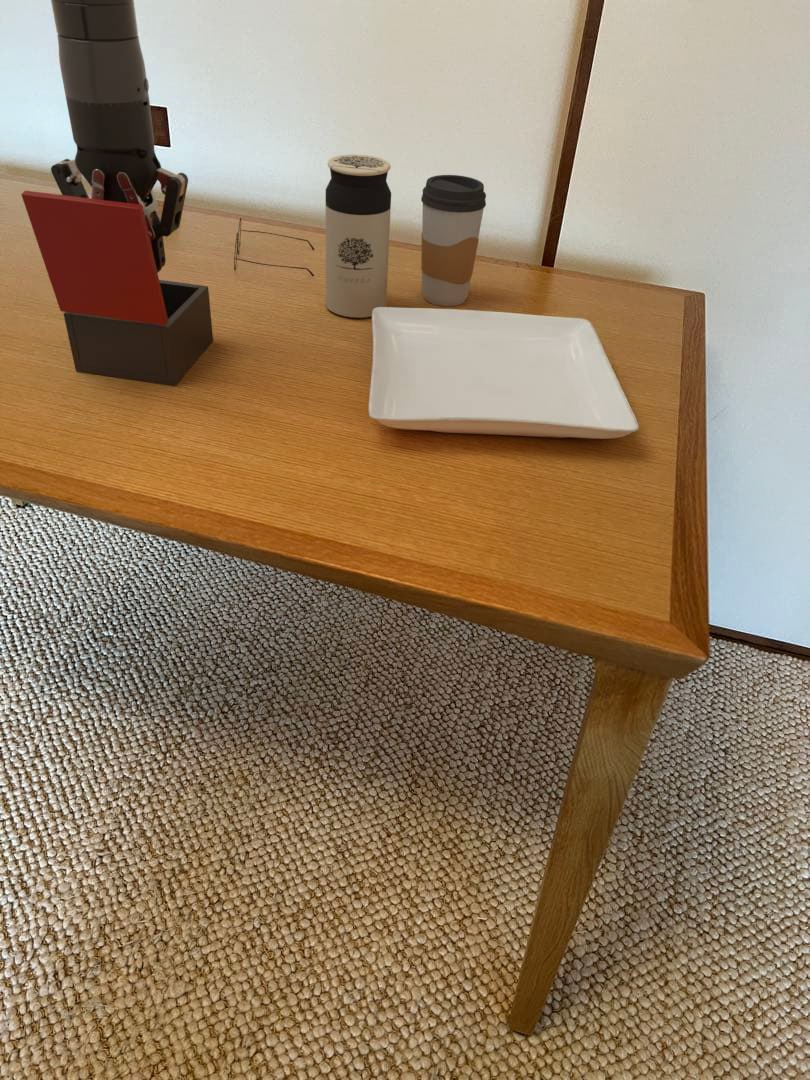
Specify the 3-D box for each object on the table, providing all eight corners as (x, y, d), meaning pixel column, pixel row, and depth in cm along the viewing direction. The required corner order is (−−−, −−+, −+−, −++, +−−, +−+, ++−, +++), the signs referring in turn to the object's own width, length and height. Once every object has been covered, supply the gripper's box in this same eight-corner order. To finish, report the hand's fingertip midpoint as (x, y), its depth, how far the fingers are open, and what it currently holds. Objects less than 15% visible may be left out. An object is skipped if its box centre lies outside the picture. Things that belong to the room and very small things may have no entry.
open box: (122, 328, 99) (112, 273, 95) (213, 340, 98) (208, 286, 93) (75, 371, 90) (63, 313, 86) (175, 386, 89) (167, 327, 85)
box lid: (24, 190, 76) (20, 194, 76) (142, 204, 75) (139, 208, 74) (63, 307, 86) (60, 311, 85) (168, 321, 84) (165, 326, 84)
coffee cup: (446, 281, 117) (457, 170, 107) (486, 301, 112) (501, 187, 102) (401, 293, 112) (408, 178, 103) (441, 314, 108) (452, 197, 98)
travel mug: (337, 291, 111) (338, 150, 100) (393, 301, 110) (400, 159, 99) (316, 313, 105) (315, 166, 94) (375, 324, 104) (381, 175, 93)
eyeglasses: (314, 247, 124) (314, 213, 121) (314, 279, 114) (313, 243, 111) (239, 245, 123) (237, 211, 119) (232, 277, 113) (230, 241, 110)
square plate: (634, 459, 83) (643, 427, 80) (366, 448, 81) (367, 414, 79) (585, 342, 104) (591, 313, 101) (371, 331, 102) (372, 301, 100)
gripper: (14, 90, 74) (54, 273, 85) (162, 106, 73) (184, 290, 84) (56, 76, 80) (88, 249, 91) (194, 90, 79) (210, 265, 90)
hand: (134, 268), depth 87 cm, fingers closed on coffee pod, 4 cm apart
